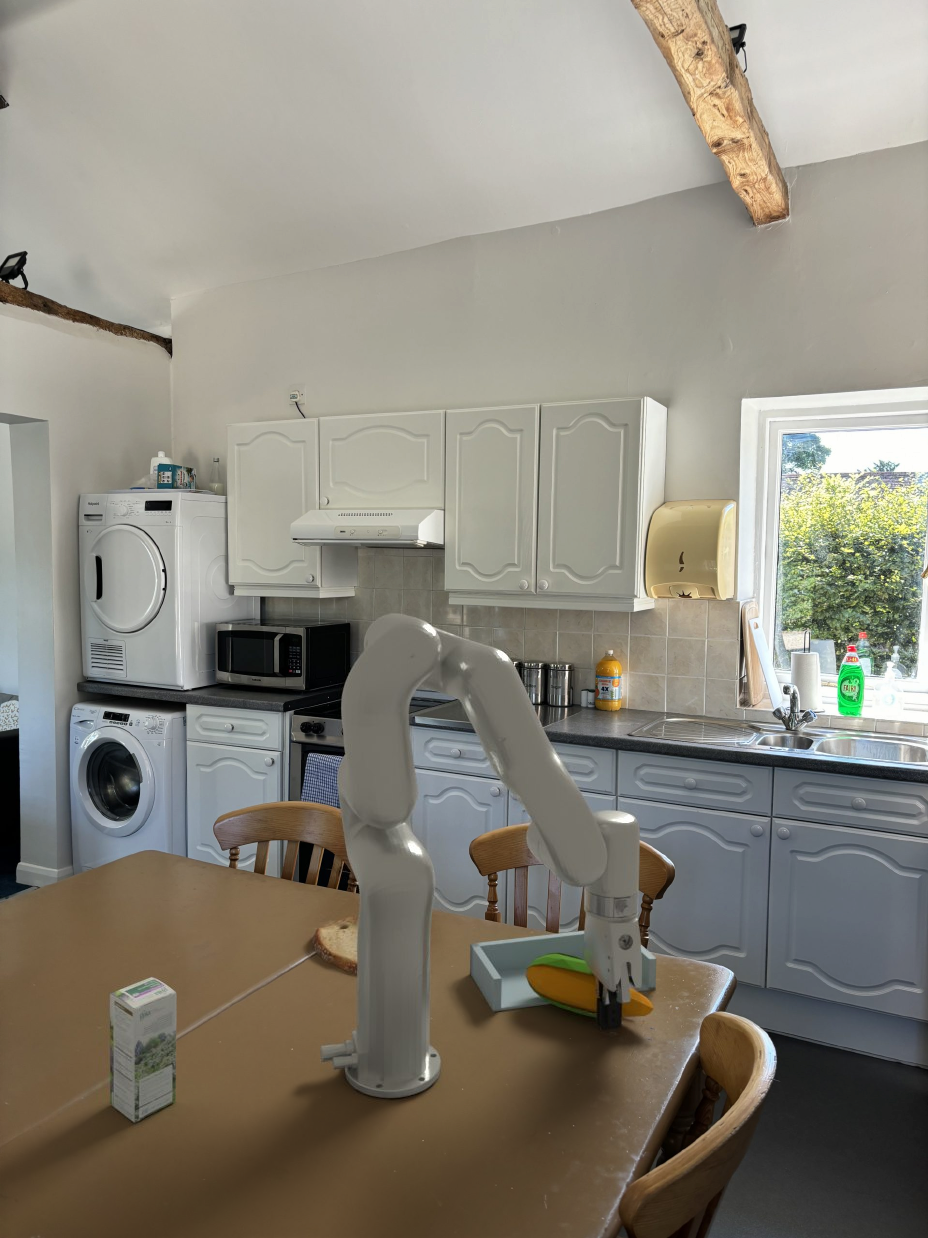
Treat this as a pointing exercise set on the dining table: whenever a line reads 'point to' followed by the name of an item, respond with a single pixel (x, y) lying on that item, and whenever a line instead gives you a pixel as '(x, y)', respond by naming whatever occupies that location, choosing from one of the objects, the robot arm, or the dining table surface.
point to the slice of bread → (338, 943)
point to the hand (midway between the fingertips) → (608, 1026)
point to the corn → (575, 986)
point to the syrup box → (142, 1048)
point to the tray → (507, 963)
